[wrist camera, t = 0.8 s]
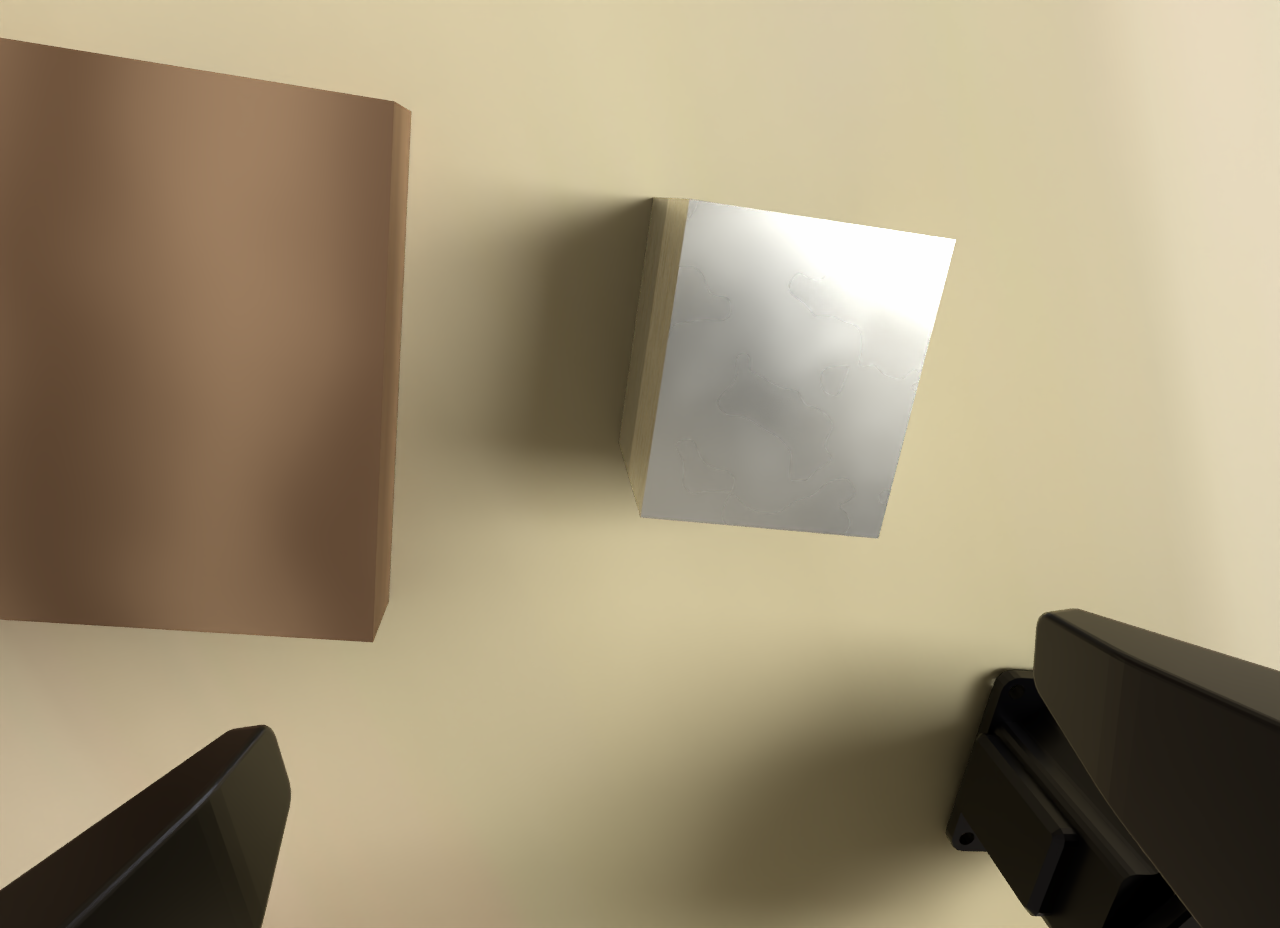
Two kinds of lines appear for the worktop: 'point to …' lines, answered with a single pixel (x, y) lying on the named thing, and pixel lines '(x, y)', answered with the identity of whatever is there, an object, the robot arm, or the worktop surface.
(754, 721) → the worktop surface
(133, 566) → the walnut stand
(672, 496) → the block
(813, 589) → the worktop surface
